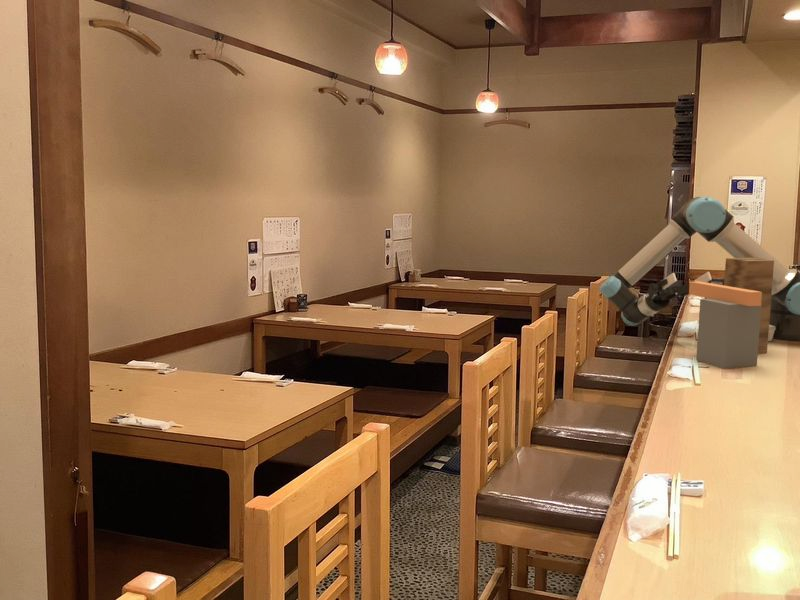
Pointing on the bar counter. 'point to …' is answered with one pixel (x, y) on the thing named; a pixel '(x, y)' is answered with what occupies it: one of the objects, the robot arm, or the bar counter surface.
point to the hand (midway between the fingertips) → (692, 276)
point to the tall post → (753, 287)
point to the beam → (726, 293)
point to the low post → (728, 334)
